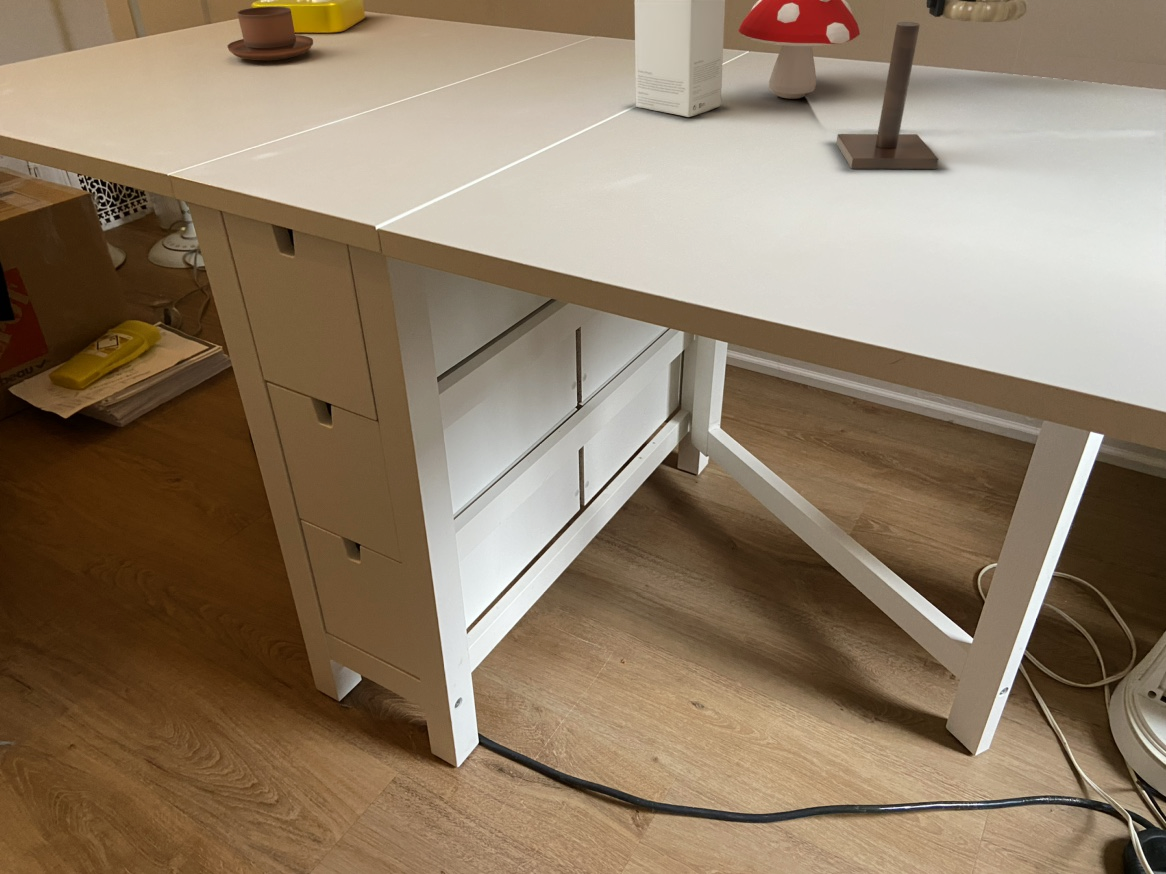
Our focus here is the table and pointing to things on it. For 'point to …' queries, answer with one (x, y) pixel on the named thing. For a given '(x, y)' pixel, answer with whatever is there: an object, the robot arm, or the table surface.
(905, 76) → the peg
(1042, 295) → the table surface
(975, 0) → the robot arm
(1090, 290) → the table surface
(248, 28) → the cup and saucer
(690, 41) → the cosmetic box
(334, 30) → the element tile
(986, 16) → the ribbed beige ring
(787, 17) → the decorative mushroom
